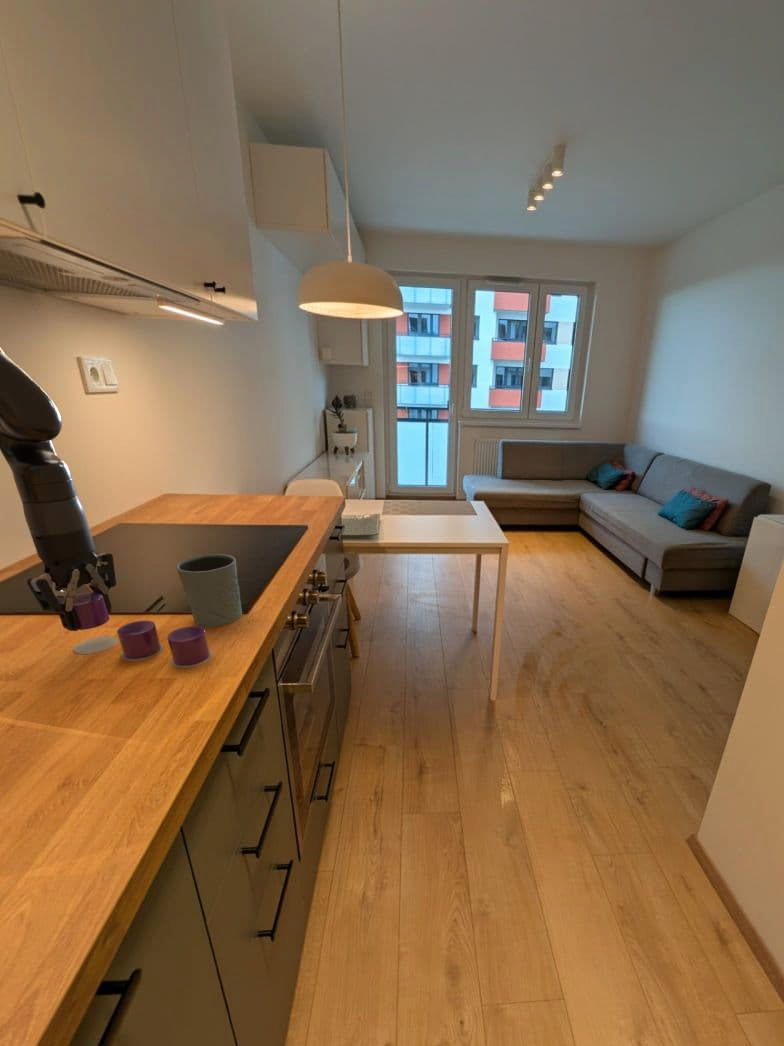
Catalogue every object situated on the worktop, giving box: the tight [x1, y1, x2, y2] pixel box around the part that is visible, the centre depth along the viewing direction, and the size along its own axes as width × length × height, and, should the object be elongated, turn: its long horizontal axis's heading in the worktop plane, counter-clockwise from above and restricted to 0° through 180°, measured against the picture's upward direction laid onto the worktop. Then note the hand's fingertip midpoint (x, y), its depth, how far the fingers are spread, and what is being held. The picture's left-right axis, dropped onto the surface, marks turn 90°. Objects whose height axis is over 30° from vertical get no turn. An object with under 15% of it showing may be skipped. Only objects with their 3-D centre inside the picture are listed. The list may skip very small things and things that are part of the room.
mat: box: [73, 635, 213, 669], centre depth 87 cm, size 26×12×1 cm, turn 78°
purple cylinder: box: [63, 591, 110, 631], centre depth 86 cm, size 6×6×4 cm
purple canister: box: [166, 625, 210, 666], centre depth 84 cm, size 6×6×4 cm
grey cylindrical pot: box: [176, 553, 243, 628], centre depth 97 cm, size 10×10×12 cm
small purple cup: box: [116, 619, 161, 659], centre depth 86 cm, size 6×6×4 cm
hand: (89, 621), depth 87 cm, fingers closed on purple cylinder, 5 cm apart
